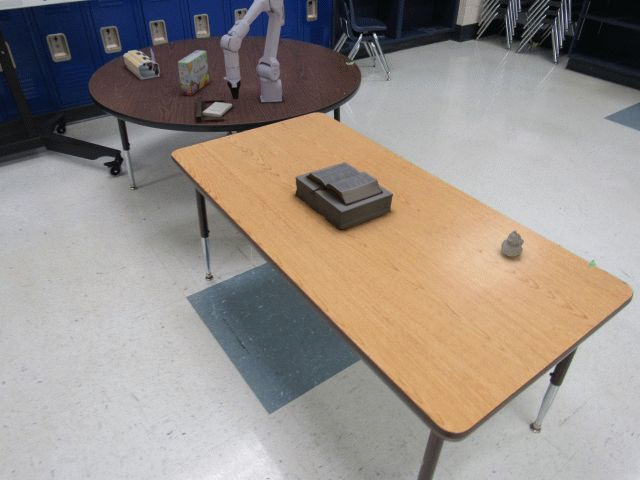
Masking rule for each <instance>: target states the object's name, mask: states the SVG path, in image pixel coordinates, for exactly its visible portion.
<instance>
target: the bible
mask: <svg viewBox="0 0 640 480" xmlns="http://www.w3.org/2000/svg"><path fill="white" fill-rule="evenodd" d="M294 179H295V186H296V190H295V194H294V196H296V197H298V198H299V199H300V200H301V201H303V202H304V203H305V204H306V205H308V206H309V208H311V209H312V210H313V211H315V212H316V213H317V214H320V215H322V216H323V217H324V219H325V220H327V221H328V222H329V223H330V224H331V225H333V226H334V227H336V229H338V230H347V229H348V228H351V227H355V226H356V225H360V224H363V223H366V222H368V221H371V220H374V219H376V218H379V217H382V216H385V215H386V214H388V213H390V212H391V208H392V202H393V197H394V193H393V192H391V191H390V190H388V189H387V188H385V187H384V186H383V185H380V184H379V181H378V179H377V178H376V177H374V176H372V175H371V174H369V173H368V172H366V171H362V172H360V171H359V169H357V168H356V167H355V166H352V165H351V164H349V163H347V162H346V161H343V162H341V163H337V164H333V165H330V166H327V167H324V168H321V169H318V170H314V171H310V172H306V173H303V174H300V175H297V176H295V177H294Z"/></svg>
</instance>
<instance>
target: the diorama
mask: <svg viewBox="0 0 640 480" xmlns="http://www.w3.org/2000/svg"><path fill="white" fill-rule="evenodd" d="M150 55H151V57H149V56H148V55H146V54H145V53H144V52H143V51H141V50H139V51H138V50H137V49H133V50H128V51H127V52H125V53H124V54H123V60H124V64H125V65H126V66H125V67H126V69H128V70H129V71H130V72H131V73H132V74H134V75H135V76H136V77H137V78H138V79H139V80H140V81H142V80H147V79H148V80H149V79H153V78H160V77H161V75H160V74H161V71H160V64H159V63H157V62H156V58H155V53H154V51H153V49H152V48H151V47H150ZM148 64H149V65H148ZM154 68H155V70H153V69H154Z"/></svg>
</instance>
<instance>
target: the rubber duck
mask: <svg viewBox="0 0 640 480" xmlns="http://www.w3.org/2000/svg"><path fill="white" fill-rule="evenodd" d="M524 242H525V240H524V239H523V238H522V236H521V234H520V233H518V232H517V230H513V231H512V232H510V233H509V234H508V235H507V237H506V239H504V240H503V241H502V242H501V247H500V249H501V253H503V254H504V255H505V256H507V257H511V258H512V257H518V256H520V255H522V253H523V252H524V251H523V250H524V248H523V247H522V246H523V245H524Z"/></svg>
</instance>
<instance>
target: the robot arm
mask: <svg viewBox="0 0 640 480" xmlns="http://www.w3.org/2000/svg"><path fill="white" fill-rule="evenodd" d="M283 6H284V0H253V2H252V4H251V5H250V7H249V8H248V10H247V11H246V13H245V15H244V16H243V18H242V19H237V20H235V21H234V25H233V26H232V27H231V28H230V29H229V31H227V34H224V35H222V37H221V39H220V42H219V46H220V48H221V49H222V53H223V59H224V67H225V76H223V81H226V85H227V87H228V88H229V90H230V93H231V98H232V100H238V99H239V93H240V89H241V85H242V82H241V81H242V76H241V69H240V58H239V50H240V49H241V46H242V43H243V39H244V38H246V36H247V35H248V33H249V32H250V26H251V24H252V23H253V22H254V21H255V20H256V19H257V18H258V17H259V15H261V13H263V12H265V13H266V14H267V16H268V21H267V22H268V24H267V31H266V37H265V42H264V43H265V44H264V50H263V56H261V57H260V58H259V59H258V64H257V65H256V68H255V71H256V75H257V76H258V77H259V80H260V95H259V99H260V102H261V103H279V102H283V88H282V87H283V85H282V79H280V75H281V70H280V65H281V64H280V62H279V60H278V59H277V56H278V49H279V42H280V35H281V30H282V24H283V23H282V22H283V15H284V13H283Z"/></svg>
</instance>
